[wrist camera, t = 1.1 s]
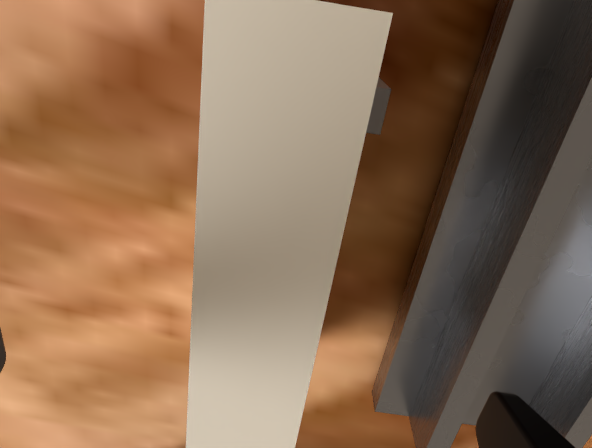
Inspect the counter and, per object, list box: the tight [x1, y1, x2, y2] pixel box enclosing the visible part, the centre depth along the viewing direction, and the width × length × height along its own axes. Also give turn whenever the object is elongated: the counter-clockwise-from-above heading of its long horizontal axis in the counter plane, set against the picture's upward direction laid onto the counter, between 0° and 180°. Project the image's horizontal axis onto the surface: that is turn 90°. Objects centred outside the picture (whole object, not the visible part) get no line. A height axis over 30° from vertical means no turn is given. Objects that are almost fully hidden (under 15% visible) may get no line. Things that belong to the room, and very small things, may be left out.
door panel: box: [186, 0, 393, 448], centre depth 11 cm, size 12×3×7 cm, turn 171°
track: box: [372, 0, 592, 448], centre depth 12 cm, size 20×8×3 cm, turn 171°
